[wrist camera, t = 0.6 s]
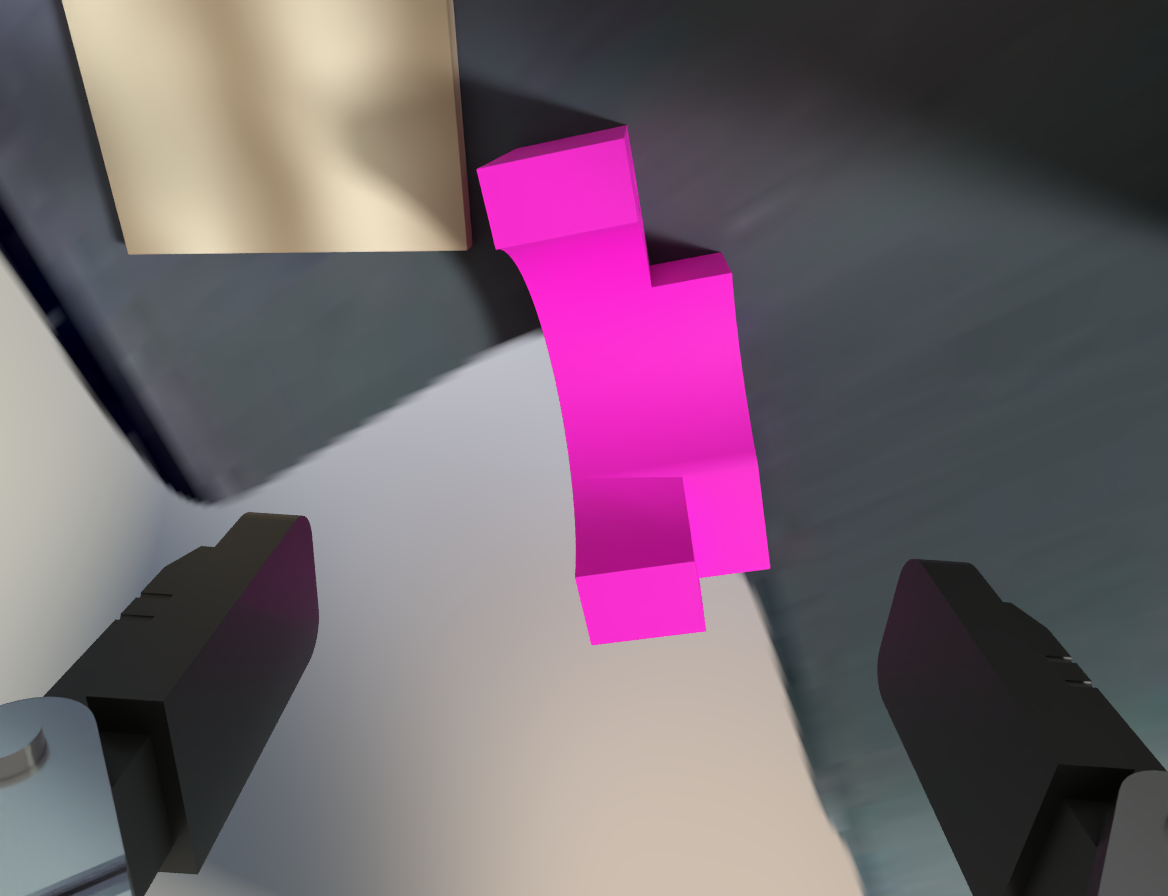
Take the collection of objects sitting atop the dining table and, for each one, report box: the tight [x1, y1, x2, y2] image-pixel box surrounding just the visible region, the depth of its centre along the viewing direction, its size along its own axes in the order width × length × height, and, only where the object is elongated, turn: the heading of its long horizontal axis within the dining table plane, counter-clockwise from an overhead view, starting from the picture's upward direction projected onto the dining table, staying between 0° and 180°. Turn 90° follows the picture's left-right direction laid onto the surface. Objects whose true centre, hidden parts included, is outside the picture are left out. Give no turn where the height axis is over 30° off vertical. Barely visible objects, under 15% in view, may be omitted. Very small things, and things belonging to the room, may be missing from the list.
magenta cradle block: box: [476, 125, 770, 645], centre depth 26 cm, size 15×6×8 cm, turn 11°
